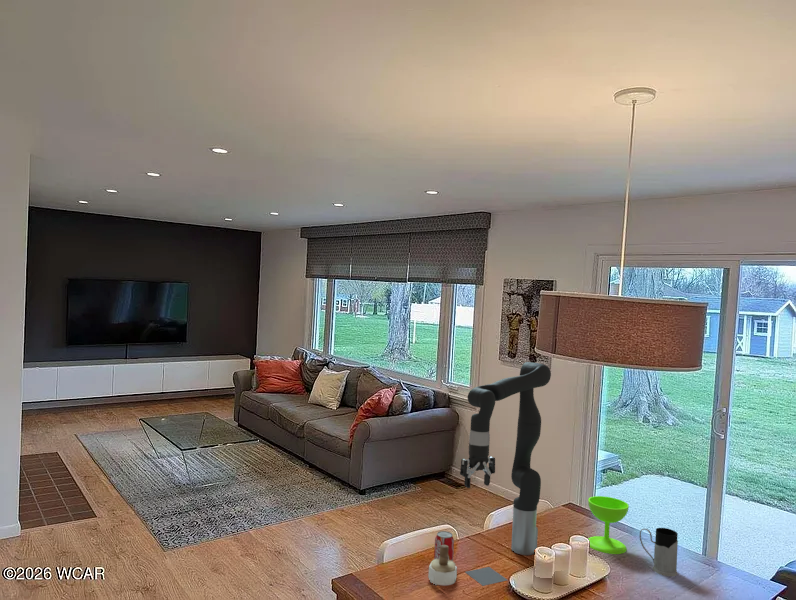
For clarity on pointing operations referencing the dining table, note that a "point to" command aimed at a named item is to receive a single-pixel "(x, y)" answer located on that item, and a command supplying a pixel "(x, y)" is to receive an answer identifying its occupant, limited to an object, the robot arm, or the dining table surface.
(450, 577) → the bowl
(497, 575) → the mat
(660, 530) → the glass holder
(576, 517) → the dining table surface
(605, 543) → the wineglass
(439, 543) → the soda can
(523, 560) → the dining table surface
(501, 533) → the dining table surface
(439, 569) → the lid
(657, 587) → the dining table surface
